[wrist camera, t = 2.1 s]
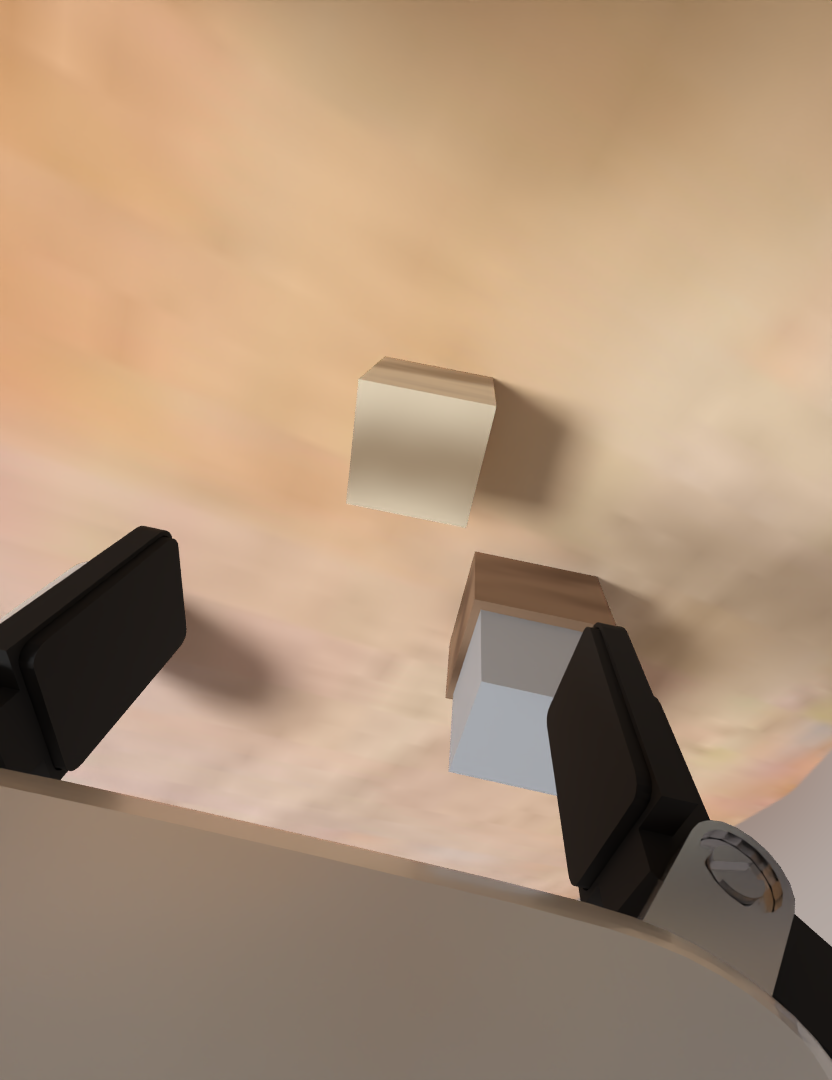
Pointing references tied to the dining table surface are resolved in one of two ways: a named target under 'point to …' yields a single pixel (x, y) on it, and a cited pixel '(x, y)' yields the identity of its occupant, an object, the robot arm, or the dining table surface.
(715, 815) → the dining table surface
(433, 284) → the dining table surface
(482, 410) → the maple cube
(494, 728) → the grey block
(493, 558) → the walnut block
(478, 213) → the dining table surface
